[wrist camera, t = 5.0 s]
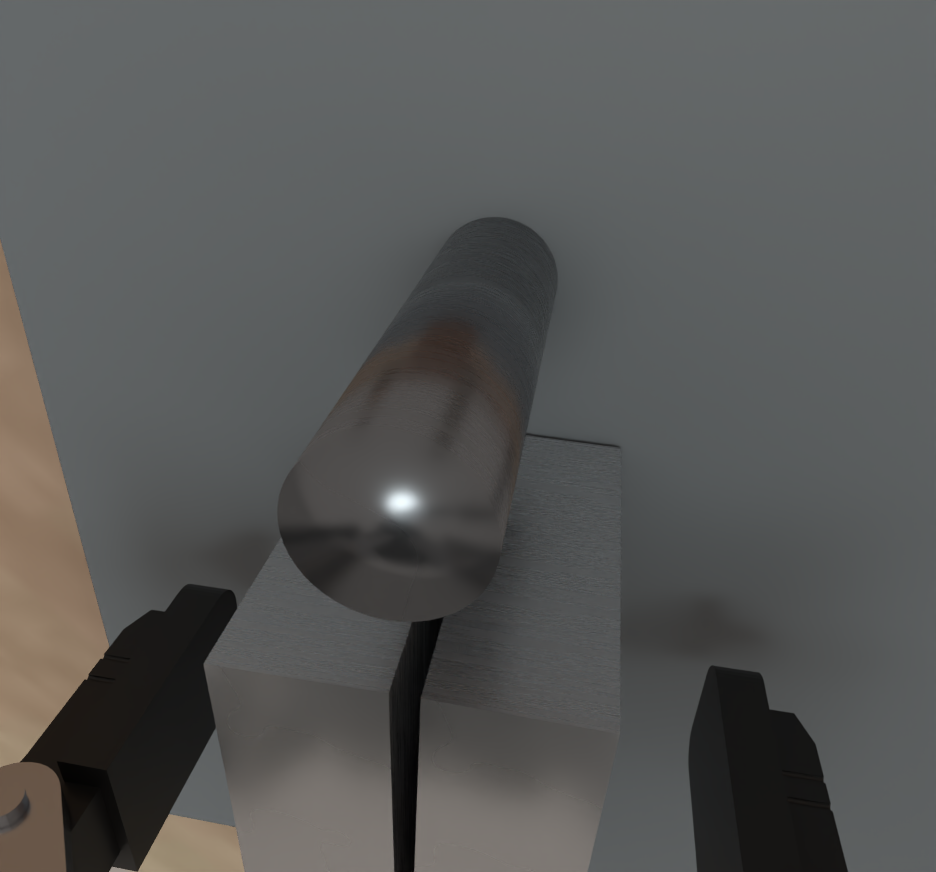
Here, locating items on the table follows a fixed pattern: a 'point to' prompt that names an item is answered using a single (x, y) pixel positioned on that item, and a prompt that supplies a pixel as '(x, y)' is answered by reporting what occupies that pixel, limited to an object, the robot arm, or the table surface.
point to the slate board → (569, 335)
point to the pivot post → (428, 435)
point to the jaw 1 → (319, 727)
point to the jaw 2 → (529, 680)
